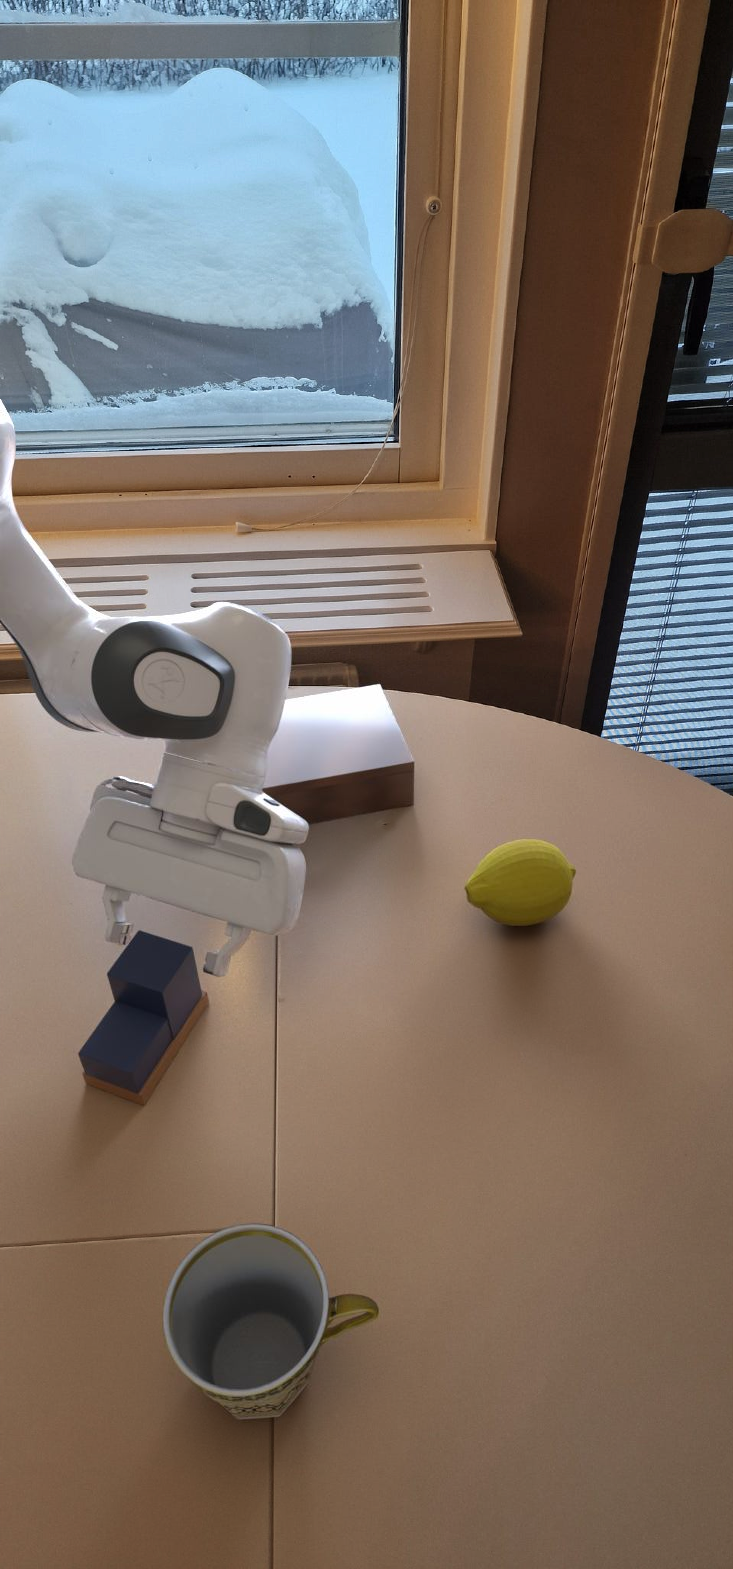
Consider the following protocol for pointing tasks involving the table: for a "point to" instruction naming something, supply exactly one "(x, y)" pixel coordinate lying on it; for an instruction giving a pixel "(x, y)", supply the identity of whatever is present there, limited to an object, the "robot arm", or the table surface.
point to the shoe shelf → (339, 756)
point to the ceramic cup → (253, 1317)
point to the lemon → (521, 882)
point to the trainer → (144, 1017)
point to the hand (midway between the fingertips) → (164, 958)
